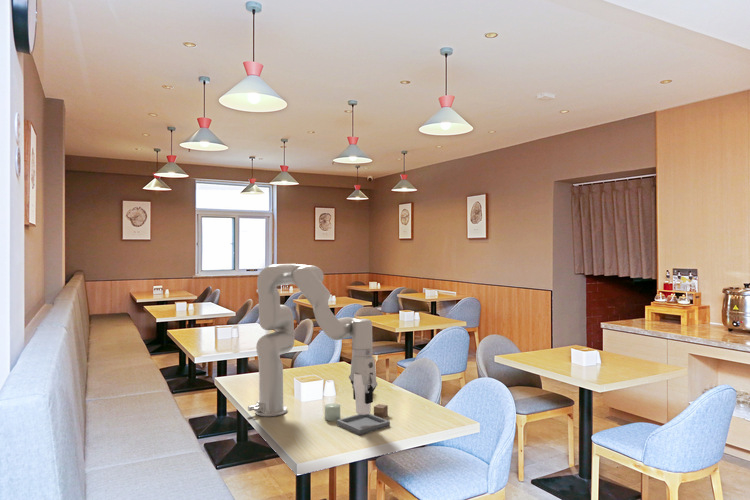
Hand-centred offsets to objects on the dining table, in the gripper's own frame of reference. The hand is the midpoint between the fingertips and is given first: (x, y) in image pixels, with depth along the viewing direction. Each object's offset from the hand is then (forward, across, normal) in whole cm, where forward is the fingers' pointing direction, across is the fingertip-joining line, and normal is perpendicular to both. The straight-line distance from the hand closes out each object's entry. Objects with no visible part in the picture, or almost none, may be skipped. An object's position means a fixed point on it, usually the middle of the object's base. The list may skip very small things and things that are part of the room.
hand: (363, 400), depth 186 cm
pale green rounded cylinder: (+9, +14, +4) cm, 17 cm away
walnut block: (+9, +4, -12) cm, 16 cm away
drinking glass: (+5, 0, 0) cm, 5 cm away
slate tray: (+9, 0, 0) cm, 9 cm away
